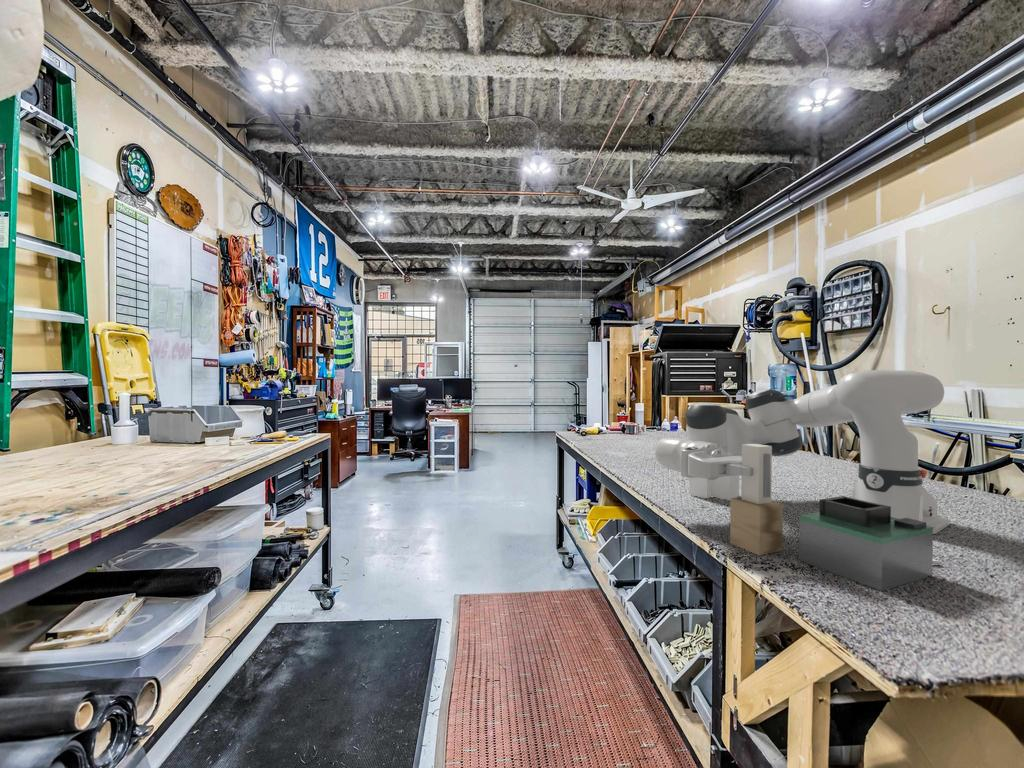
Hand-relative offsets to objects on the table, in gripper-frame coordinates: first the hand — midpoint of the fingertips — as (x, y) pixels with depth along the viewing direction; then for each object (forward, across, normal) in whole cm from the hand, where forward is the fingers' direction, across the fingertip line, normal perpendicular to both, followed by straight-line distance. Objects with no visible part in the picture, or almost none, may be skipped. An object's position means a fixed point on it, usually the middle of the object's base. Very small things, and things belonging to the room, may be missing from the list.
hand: (760, 471), depth 92 cm
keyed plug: (-1, 0, -6) cm, 7 cm away
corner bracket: (-36, -27, -17) cm, 48 cm away
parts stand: (-1, 0, -16) cm, 17 cm away
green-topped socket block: (+14, -10, -17) cm, 24 cm away
